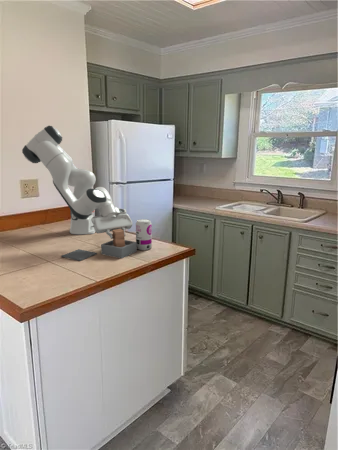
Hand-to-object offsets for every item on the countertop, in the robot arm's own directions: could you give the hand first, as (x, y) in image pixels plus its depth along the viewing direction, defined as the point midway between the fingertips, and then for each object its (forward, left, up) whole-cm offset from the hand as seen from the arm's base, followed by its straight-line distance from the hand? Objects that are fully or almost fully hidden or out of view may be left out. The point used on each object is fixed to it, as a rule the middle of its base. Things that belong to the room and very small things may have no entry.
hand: (118, 237), depth 166 cm
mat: (+13, -14, -8) cm, 21 cm away
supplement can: (-13, +7, -8) cm, 17 cm away
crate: (0, 0, -9) cm, 9 cm away
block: (0, 0, -4) cm, 5 cm away
